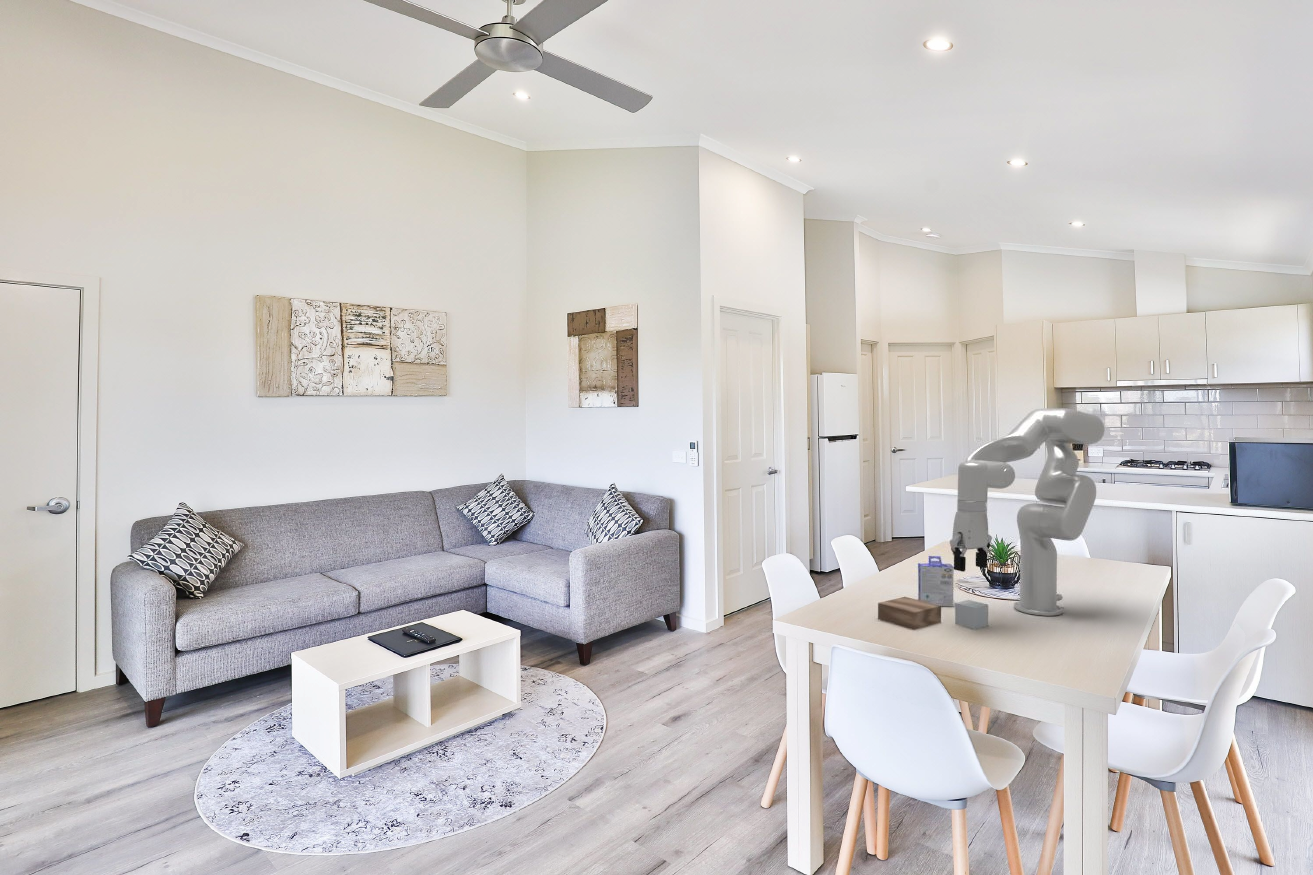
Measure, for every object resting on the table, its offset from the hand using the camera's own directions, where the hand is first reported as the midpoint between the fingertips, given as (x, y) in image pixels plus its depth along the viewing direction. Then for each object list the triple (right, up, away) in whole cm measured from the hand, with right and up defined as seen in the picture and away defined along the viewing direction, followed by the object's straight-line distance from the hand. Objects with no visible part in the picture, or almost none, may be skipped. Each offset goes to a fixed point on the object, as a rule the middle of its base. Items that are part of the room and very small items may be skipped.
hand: (970, 568), depth 193 cm
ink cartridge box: (-1, -15, +22) cm, 27 cm away
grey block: (+1, -16, +1) cm, 16 cm away
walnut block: (-15, -16, +5) cm, 23 cm away
